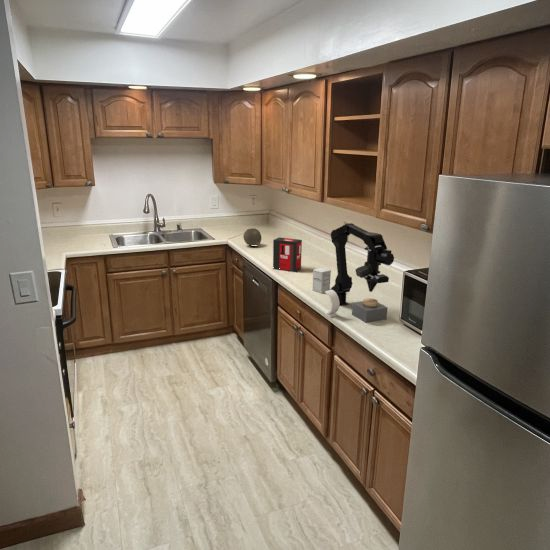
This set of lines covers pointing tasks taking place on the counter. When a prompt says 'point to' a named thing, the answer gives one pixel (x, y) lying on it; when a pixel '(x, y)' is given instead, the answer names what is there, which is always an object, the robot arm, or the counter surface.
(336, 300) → the headphone stand
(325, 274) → the supplement box
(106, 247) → the counter surface
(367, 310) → the gray rectangular block
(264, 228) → the counter surface
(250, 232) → the spherical smart speaker
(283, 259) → the cleaning product box
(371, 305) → the tan rounded lump
